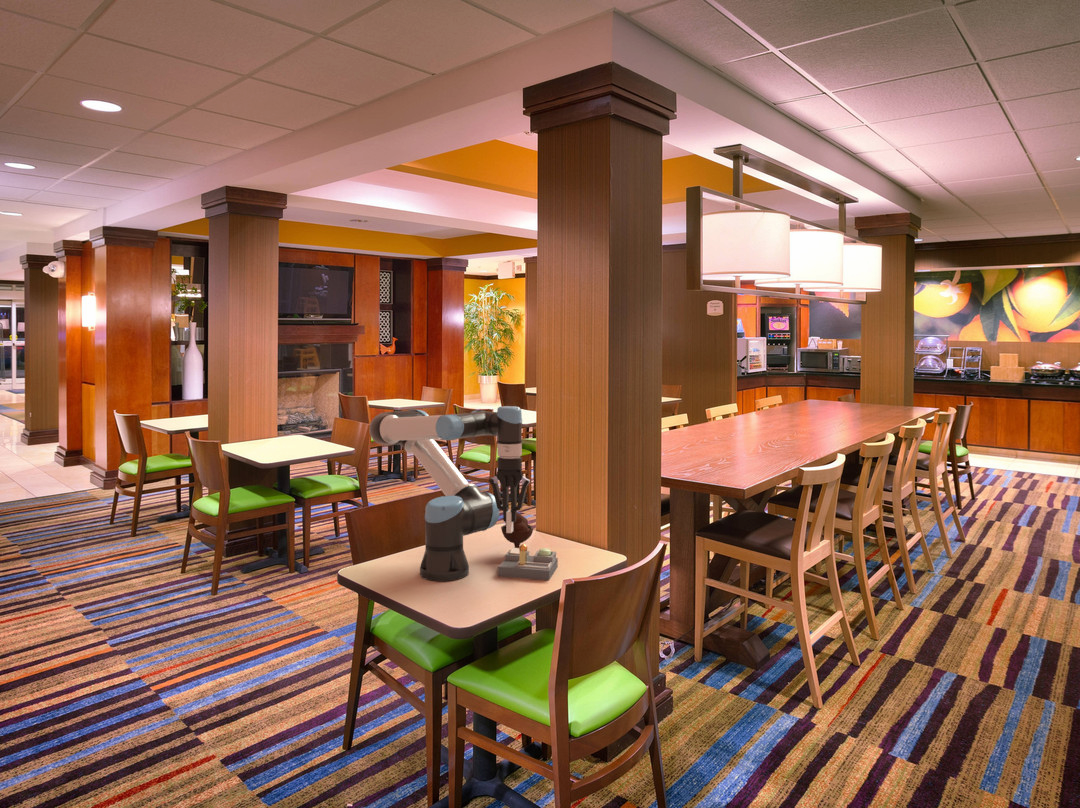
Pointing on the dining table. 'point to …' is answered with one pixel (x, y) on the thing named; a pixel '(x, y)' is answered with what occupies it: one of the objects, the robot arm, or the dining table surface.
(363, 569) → the dining table surface
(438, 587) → the dining table surface
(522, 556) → the brass lever
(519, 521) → the ice cream bowl
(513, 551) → the rocker
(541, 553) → the green button
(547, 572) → the console
